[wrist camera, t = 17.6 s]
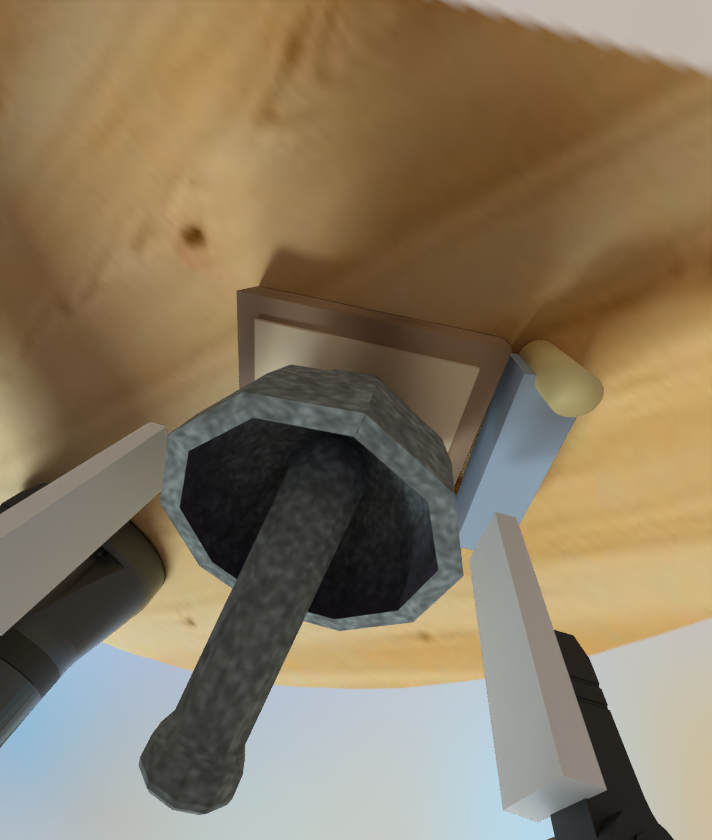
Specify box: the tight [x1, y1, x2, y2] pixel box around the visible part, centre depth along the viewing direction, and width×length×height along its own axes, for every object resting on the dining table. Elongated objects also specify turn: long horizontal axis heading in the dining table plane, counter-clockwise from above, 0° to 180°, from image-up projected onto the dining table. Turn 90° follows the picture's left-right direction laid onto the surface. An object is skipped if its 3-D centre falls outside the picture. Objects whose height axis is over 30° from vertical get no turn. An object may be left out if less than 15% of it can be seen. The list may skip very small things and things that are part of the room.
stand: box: [237, 286, 512, 486], centre depth 17 cm, size 12×12×2 cm
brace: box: [455, 340, 604, 550], centre depth 15 cm, size 11×2×4 cm, turn 173°
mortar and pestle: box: [139, 364, 463, 815], centre depth 11 cm, size 11×9×12 cm
